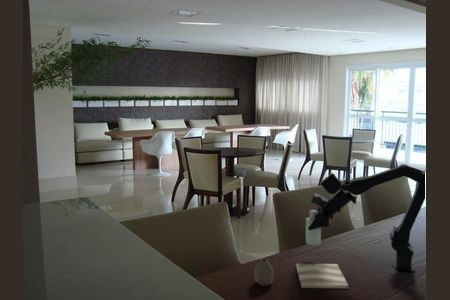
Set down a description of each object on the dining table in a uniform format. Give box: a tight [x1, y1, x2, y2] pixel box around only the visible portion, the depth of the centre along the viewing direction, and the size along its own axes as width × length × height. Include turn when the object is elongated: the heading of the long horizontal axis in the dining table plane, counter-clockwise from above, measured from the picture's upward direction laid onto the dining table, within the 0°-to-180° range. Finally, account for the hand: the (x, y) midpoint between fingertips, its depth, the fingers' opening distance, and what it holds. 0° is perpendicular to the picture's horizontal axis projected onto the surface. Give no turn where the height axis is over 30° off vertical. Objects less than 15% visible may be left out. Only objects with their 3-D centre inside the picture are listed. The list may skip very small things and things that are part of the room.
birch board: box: [295, 263, 349, 289], centre depth 149 cm, size 18×16×1 cm
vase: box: [254, 258, 275, 287], centre depth 144 cm, size 7×7×9 cm
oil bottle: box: [305, 209, 322, 246], centre depth 164 cm, size 6×6×14 cm
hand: (309, 226), depth 165 cm, fingers closed on oil bottle, 6 cm apart
